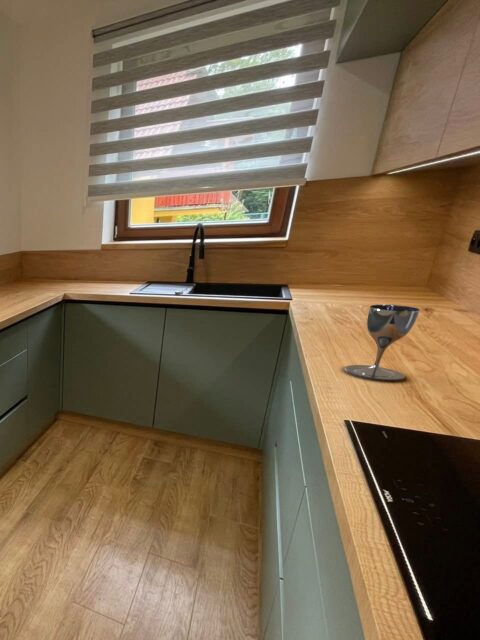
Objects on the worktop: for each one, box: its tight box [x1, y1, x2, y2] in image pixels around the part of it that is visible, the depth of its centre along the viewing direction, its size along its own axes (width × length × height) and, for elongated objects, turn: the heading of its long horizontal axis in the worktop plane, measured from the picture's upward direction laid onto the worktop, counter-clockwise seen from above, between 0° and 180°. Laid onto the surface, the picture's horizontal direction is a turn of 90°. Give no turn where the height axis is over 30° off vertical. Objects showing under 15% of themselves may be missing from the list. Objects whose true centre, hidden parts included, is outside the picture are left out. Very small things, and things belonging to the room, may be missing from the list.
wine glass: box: [354, 304, 421, 377], centre depth 97 cm, size 8×8×15 cm
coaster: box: [343, 364, 405, 383], centre depth 100 cm, size 10×10×1 cm
